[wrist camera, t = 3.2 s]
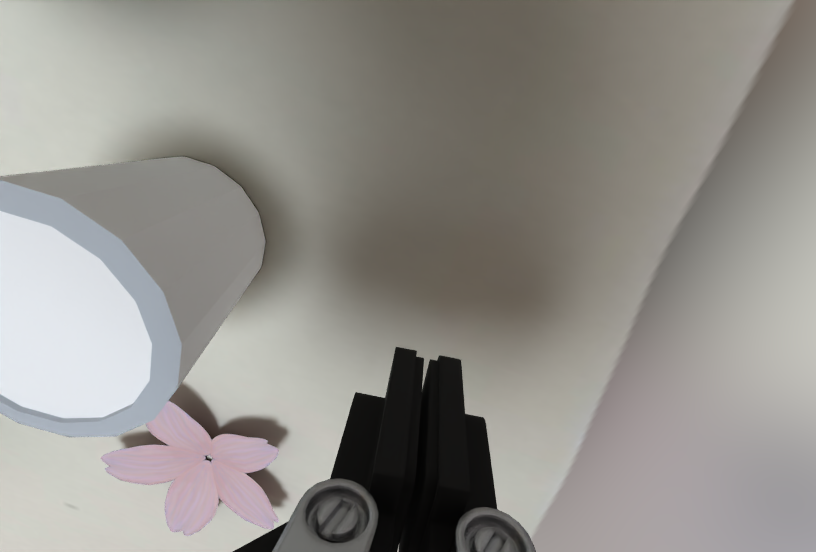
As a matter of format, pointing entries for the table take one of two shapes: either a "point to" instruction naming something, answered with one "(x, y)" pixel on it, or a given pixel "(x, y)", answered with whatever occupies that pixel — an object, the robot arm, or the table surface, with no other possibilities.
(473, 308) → the table surface
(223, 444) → the flower
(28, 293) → the white short cylinder
